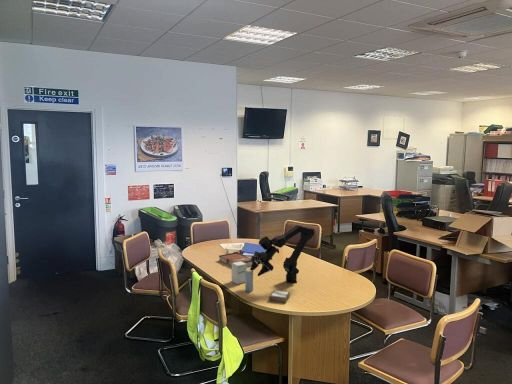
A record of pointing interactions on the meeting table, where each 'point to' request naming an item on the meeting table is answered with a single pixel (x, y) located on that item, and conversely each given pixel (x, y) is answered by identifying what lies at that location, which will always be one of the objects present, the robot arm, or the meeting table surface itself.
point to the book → (235, 259)
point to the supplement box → (238, 272)
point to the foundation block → (279, 296)
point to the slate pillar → (248, 280)
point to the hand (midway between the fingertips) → (253, 273)
